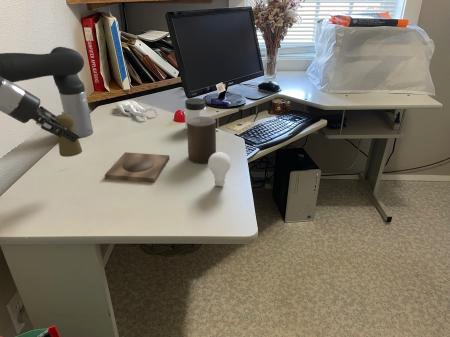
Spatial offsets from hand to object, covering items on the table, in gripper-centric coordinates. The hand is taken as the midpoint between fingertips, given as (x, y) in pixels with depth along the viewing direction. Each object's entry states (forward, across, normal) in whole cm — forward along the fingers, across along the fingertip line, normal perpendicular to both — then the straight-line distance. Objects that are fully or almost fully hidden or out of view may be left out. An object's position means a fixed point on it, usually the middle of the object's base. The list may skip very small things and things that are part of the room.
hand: (74, 135), depth 97 cm
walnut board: (+23, -1, +1) cm, 23 cm away
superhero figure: (+35, -55, +12) cm, 66 cm away
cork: (+2, 0, -5) cm, 5 cm away
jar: (+46, -22, +24) cm, 57 cm away
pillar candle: (+39, +3, +16) cm, 42 cm away
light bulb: (+35, +22, +13) cm, 44 cm away
